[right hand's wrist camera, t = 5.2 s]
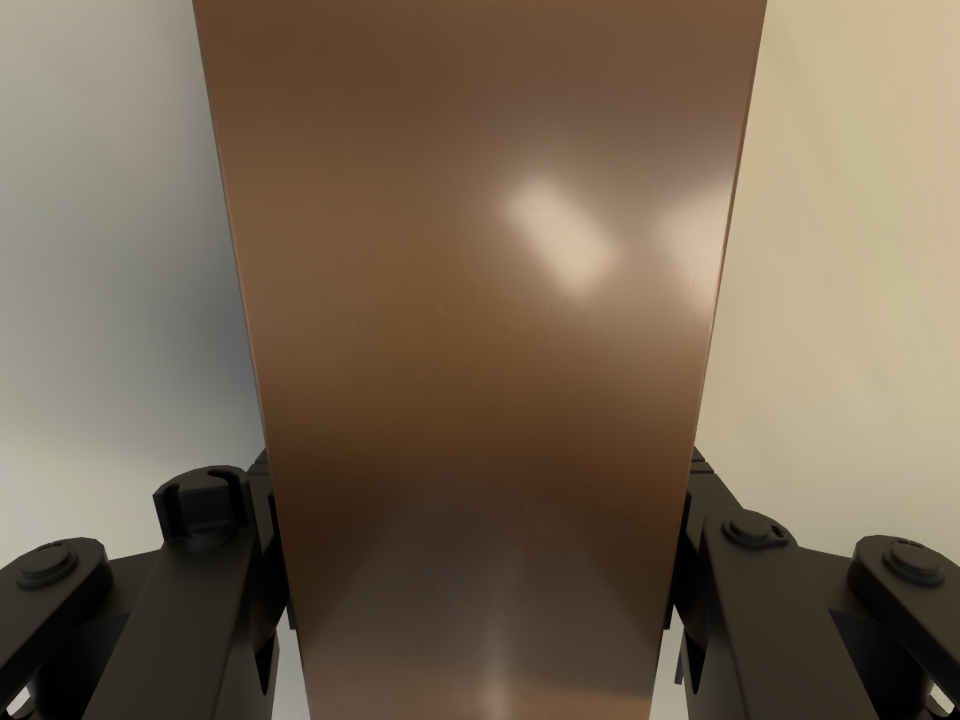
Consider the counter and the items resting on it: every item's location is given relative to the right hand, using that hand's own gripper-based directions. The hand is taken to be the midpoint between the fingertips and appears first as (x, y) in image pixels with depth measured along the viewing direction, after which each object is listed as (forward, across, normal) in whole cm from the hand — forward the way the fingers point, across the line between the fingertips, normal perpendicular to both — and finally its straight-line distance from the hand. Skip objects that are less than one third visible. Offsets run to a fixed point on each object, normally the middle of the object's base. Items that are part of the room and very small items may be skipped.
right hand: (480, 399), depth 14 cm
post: (+1, 0, -23) cm, 23 cm away
